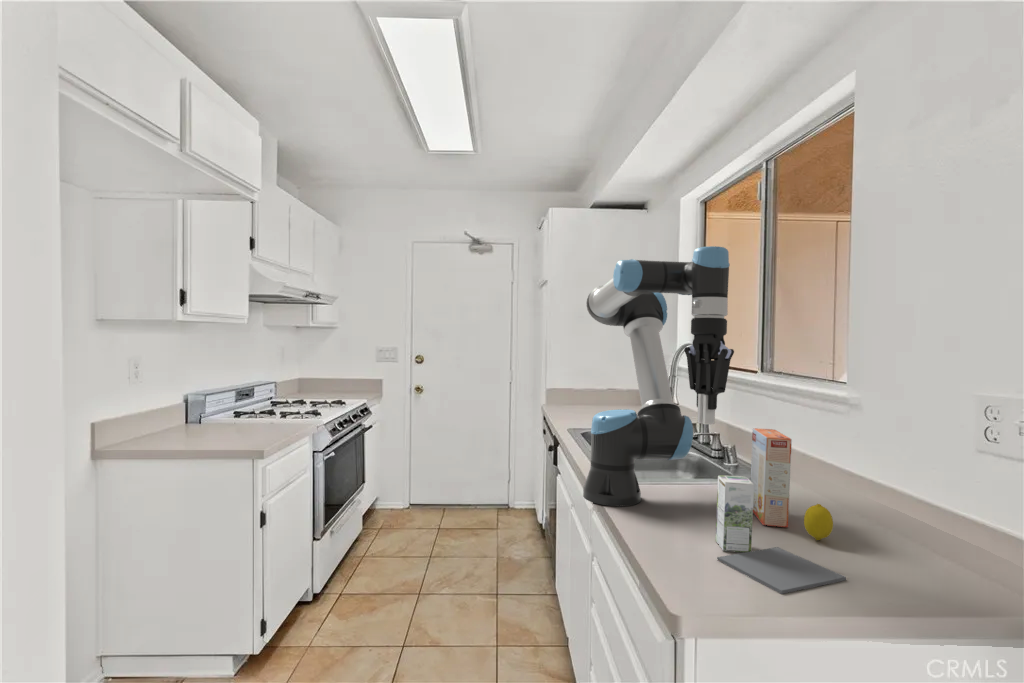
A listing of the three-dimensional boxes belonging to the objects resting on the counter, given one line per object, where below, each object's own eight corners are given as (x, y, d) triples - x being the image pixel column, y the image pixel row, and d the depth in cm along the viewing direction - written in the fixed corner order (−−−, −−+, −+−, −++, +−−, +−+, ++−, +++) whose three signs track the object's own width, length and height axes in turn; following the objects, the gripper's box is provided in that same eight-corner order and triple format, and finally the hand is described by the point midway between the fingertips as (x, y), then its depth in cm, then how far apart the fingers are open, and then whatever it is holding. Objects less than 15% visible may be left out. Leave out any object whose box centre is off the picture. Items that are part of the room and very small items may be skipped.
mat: (717, 560, 108) (717, 557, 108) (777, 549, 114) (777, 546, 114) (781, 594, 94) (781, 590, 94) (846, 580, 100) (846, 576, 100)
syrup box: (742, 543, 117) (745, 475, 117) (752, 554, 112) (754, 482, 111) (715, 541, 118) (717, 473, 118) (723, 552, 112) (725, 481, 112)
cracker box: (790, 528, 127) (793, 438, 127) (762, 526, 128) (764, 436, 128) (774, 510, 141) (776, 428, 141) (748, 508, 142) (751, 427, 142)
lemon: (802, 534, 124) (804, 498, 124) (831, 538, 121) (832, 502, 121) (803, 542, 119) (804, 505, 119) (833, 547, 116) (834, 509, 116)
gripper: (674, 317, 128) (671, 419, 128) (719, 316, 115) (715, 429, 115) (700, 318, 130) (697, 418, 131) (746, 317, 118) (743, 428, 118)
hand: (705, 423), depth 123 cm, fingers closed
